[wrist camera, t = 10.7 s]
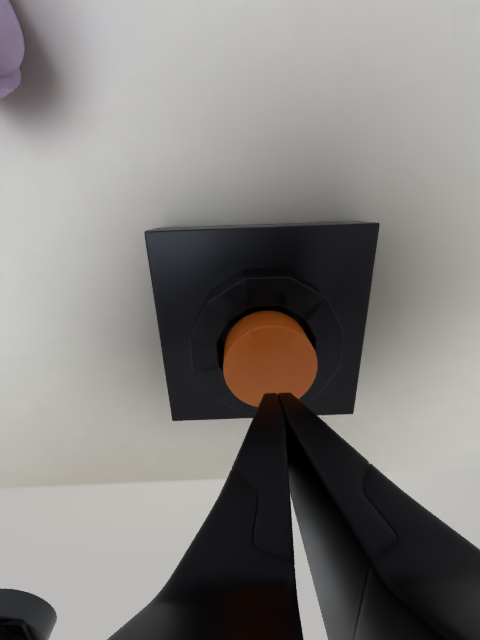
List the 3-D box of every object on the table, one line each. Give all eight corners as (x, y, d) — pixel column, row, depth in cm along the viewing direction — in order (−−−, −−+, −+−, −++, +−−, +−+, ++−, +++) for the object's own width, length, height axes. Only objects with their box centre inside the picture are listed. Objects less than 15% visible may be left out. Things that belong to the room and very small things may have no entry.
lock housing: (339, 390, 18) (368, 439, 14) (179, 396, 18) (164, 447, 14) (359, 220, 14) (404, 224, 10) (156, 228, 14) (128, 234, 10)
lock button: (304, 382, 13) (314, 406, 11) (226, 385, 13) (225, 410, 11) (309, 308, 12) (321, 324, 10) (222, 311, 12) (220, 328, 10)
